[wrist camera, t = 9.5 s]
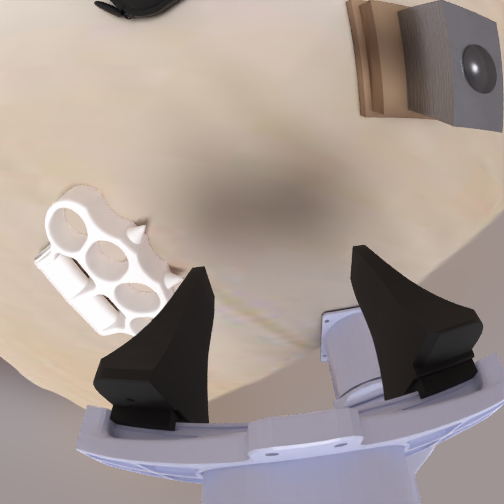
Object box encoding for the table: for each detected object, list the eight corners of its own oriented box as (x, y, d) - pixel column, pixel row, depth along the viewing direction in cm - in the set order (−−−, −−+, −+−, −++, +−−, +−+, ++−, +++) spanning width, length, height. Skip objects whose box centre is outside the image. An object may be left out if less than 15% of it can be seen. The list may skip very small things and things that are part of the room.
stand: (452, 119, 17) (474, 128, 14) (360, 115, 17) (377, 122, 15) (445, 21, 11) (467, 19, 9) (346, 2, 12) (361, -8, 10)
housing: (448, 24, 10) (497, 22, 6) (455, 113, 14) (503, 133, 10) (396, 11, 10) (443, -1, 6) (407, 109, 14) (455, 127, 10)
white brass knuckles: (26, 226, 22) (115, 155, 19) (120, 335, 32) (217, 308, 29) (9, 244, 20) (96, 169, 17) (112, 356, 29) (215, 333, 26)
